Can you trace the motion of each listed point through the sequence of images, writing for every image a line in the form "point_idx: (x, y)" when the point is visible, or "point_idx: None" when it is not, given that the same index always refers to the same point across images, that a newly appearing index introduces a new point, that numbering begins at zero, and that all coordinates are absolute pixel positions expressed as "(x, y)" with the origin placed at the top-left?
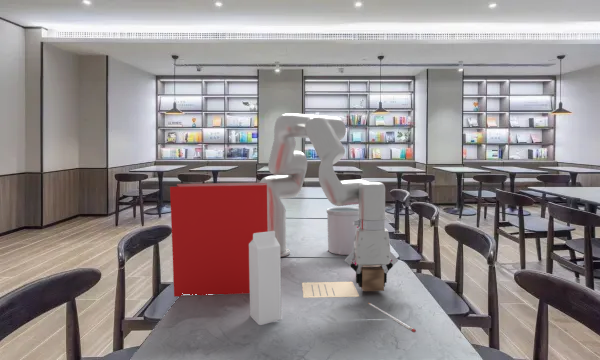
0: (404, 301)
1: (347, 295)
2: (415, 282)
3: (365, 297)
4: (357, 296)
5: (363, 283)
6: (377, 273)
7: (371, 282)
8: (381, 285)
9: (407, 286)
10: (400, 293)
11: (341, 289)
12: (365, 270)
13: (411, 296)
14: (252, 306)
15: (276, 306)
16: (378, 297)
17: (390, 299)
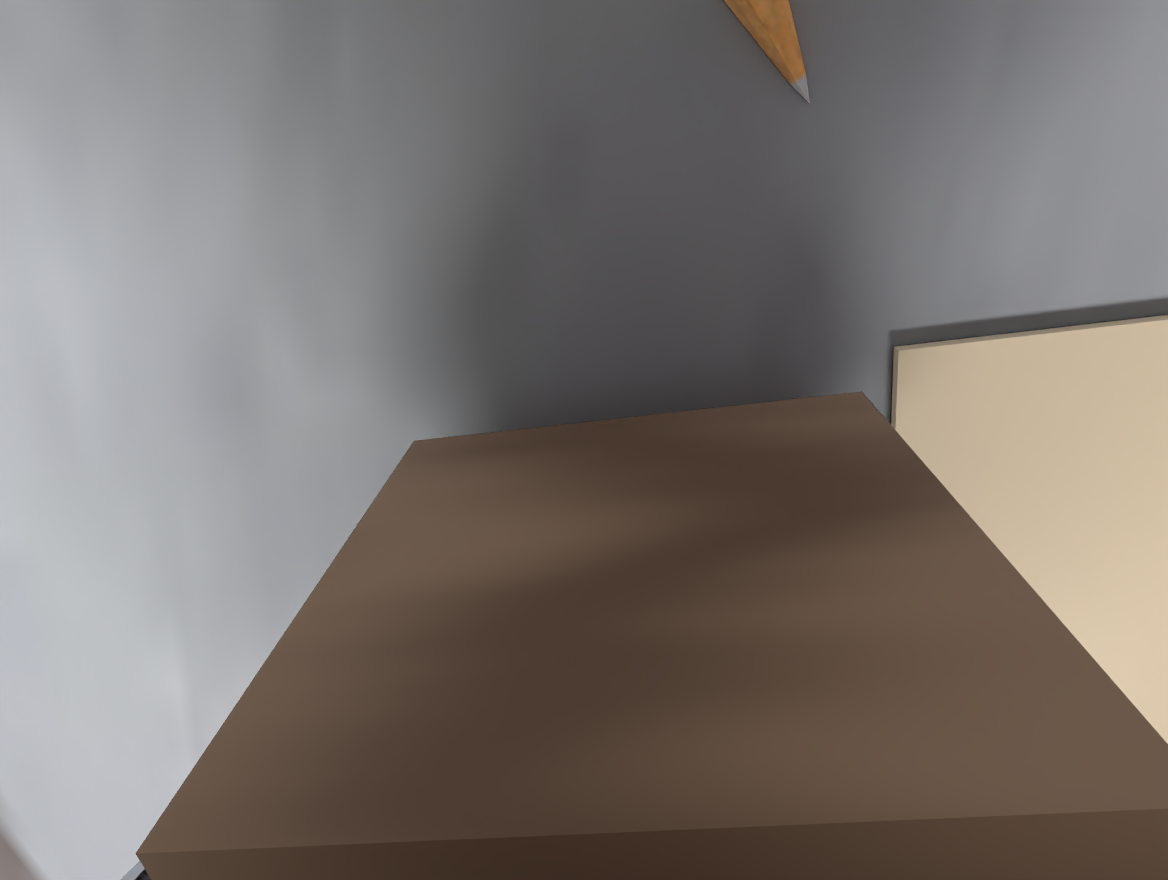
0: (83, 224)
1: (1126, 384)
2: (41, 869)
3: (778, 350)
4: (938, 349)
5: (918, 471)
6: (473, 718)
7: (690, 503)
8: (436, 489)
9: (120, 766)
10: (187, 546)
11: (1148, 628)
12: (1073, 823)
13: (7, 446)
14: None
15: None
16: (540, 368)
17: (331, 295)
